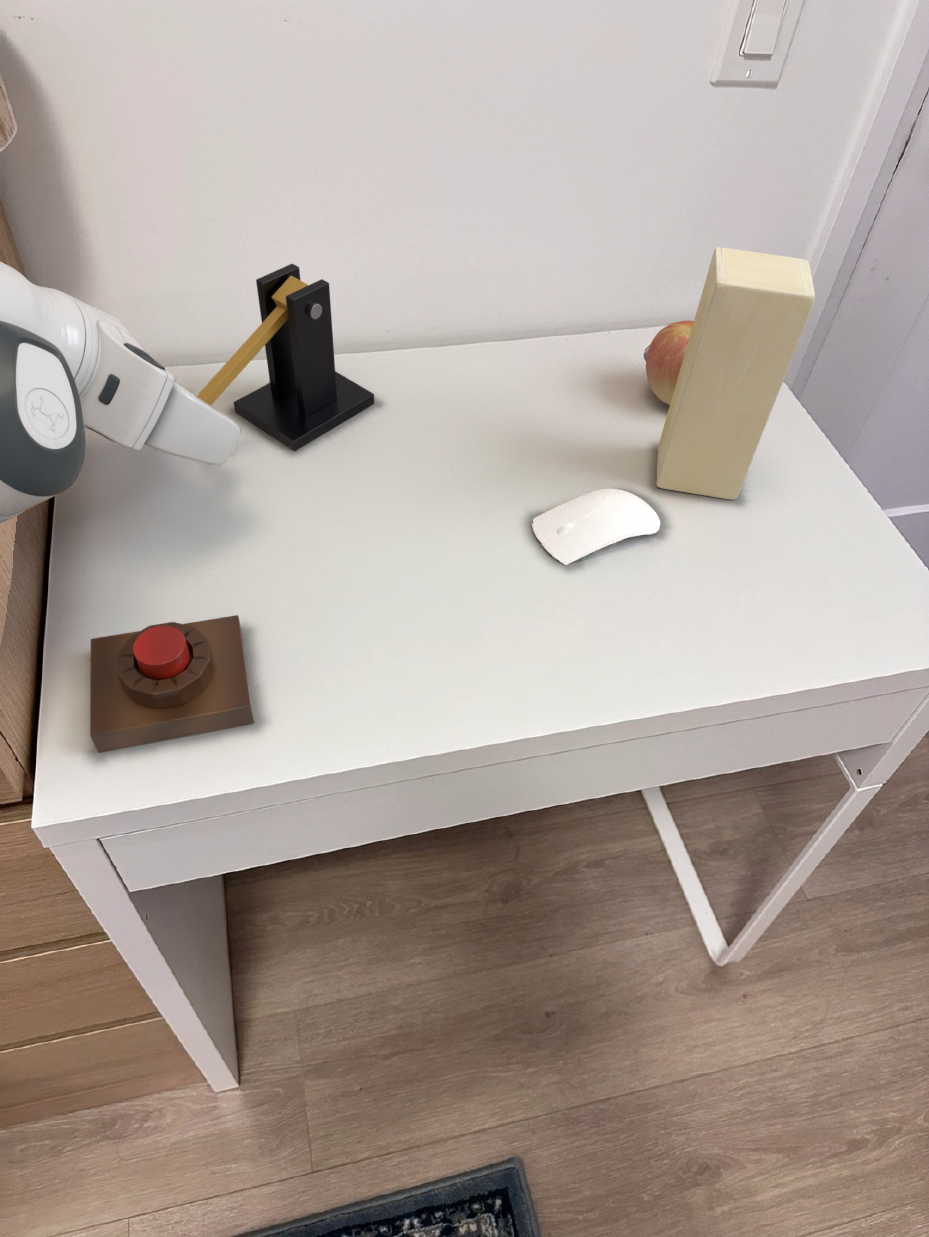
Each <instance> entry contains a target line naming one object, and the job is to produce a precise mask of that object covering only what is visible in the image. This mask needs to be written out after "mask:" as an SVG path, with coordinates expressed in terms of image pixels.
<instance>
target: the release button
mask: <svg viewBox="0 0 929 1237" xmlns="http://www.w3.org/2000/svg"><path fill="white" fill-rule="evenodd" d="M133 652H134V655H135V658H136V660H137V663H138V666H139V668H140V670H141V672H142V673H143V674H144V675H146V676H147V677H149V678H152V679H158V680H162V679H168V678H172V677H174V676H176V675H178V674H179V673H181V672H182V671H183V670H184V669H185V668H186V667H187V665H188V663H189V660H190V653H189V649H188V646H187V643H186V639H185V637H184V635H183V633H182V632H181V631H180V630H178V629H176V628H174V627H170V626H157V627H153V628H151V629H148V630H146V631H145V632H143V633H142V634H141V635H140V636H139V637H138V638H137V639H136V641H135V643H134V647H133Z"/></svg>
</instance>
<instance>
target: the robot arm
mask: <svg viewBox="0 0 929 1237" xmlns="http://www.w3.org/2000/svg"><path fill="white" fill-rule="evenodd" d="M85 428H86V429H88V430H90V431H92V432H94V433H96V434H98V435H100V436H102V437H103V438H106V440H108V441H111V442H112V443H115V444H117V445H119V446H121V447H123V448H126V449H129V450H132V451H140V450H141V449H142V448H143V446H146V447H149V448H152V449H154V450H156V451H158V452H159V451H160V452H162V453H165V454H168V455H171V456H175V457H180V458H183V459H187V460H191V461H194V462H199V463H204V464H208V465H213V466H220V465H223V464H225V463H226V462H227V461H228V460H229V459H230V457H231V455H232V453H233V452H234V450H235V448H236V446H237V445H238V442H239V439H240V438H241V434H242V427H241V425H240V424H239V423H238V422H236V420H234V419H232V418H231V417H229V416H228V415H226V414H225V413H223V412H222V411H220V410H218V409H216V408H215V407H213V406H212V405H211V406H210V405H209V404H207V403H206V402H204V401H203V400H201V399H200V398H198V397H197V395H195V394H193V393H192V392H190V391H189V390H187V389H186V388H185V387H183V386H181V385H180V384H179V383H177V382H176V377H175V375H174V374H173V373H172V372H170V371H169V370H167V369H166V367H164V366H163V365H162V364H161V363H159V362H158V361H157V360H155V359H154V358H153V357H152V356H151V355H150V354H149V353H148V352H146V351H145V350H144V349H143V347H142V346H141V345H140V343H138V341H136V339H135V338H134V337H133V336H132V335H130V332H129V331H128V328H126V326H125V325H124V323H122V322H121V320H119V319H118V318H116V317H115V316H113V315H111V314H109V313H107V312H105V311H103V310H101V309H99V308H96V307H95V306H92V305H90V304H88V303H86V302H83V300H80V299H79V298H76V297H74V296H72V295H70V294H68V293H66V292H64V291H62V290H60V289H56V288H53V287H52V288H51V287H46V286H39V285H36V284H34V283H33V282H31V281H30V280H29V279H28V278H26V277H25V276H24V275H23V274H22V272H20V271H18V270H17V269H15V268H14V267H12V266H10V265H9V264H6V263H5V262H3V261H0V524H2V523H4V522H6V521H8V520H11V519H14V518H16V517H18V516H19V515H21V514H22V513H24V512H25V511H26V510H29V509H32V508H33V507H35V506H37V505H39V504H42V503H43V502H44V503H45V501H48V500H50V499H52V498H54V497H55V496H57V495H59V494H62V493H64V492H65V491H67V490H68V489H69V488H71V487H72V486H73V485H74V484H75V483H76V481H77V479H78V477H79V476H80V474H81V472H82V469H83V466H84V461H85V456H86V430H85Z"/></svg>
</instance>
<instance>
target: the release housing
mask: <svg viewBox="0 0 929 1237" xmlns="http://www.w3.org/2000/svg"><path fill="white" fill-rule="evenodd" d="M239 616H240V615H238V614H237V615H236V614H235V615H229V616H223V617H218V618H217V617H216V618H210V619H205V620H204V619H203V620H198V621H192V622H187V623H180V622H176V621H170V622H163V623H158V624H150V625H147V626H146V627H144V628H143V629H141V630H138V631H131V632H125V633H119V634H113V635H105V636H101V637H94V638H90V686H89V687H90V695H89V698H90V699H89V700H90V703H89V704H90V705H89V707H90V709H89V713H90V714H89V715H90V716H89V729H90V730H89V737H90V738H91V741H92V743H93V745H94V747H95V749H96V751H97V752H98V753H105V752H109V751H115V750H120V749H126V748H131V747H135V746H141V745H146V744H153V743H158V742H164V741H168V740H175V739H179V738H185V737H190V736H196V735H200V734H206V733H211V732H216V731H222V730H226V729H232V728H237V727H242V726H248V725H253V724H255V717H254V716H255V715H254V708H253V702H252V694H251V686H250V680H249V672H248V666H247V659H246V652H245V650H246V649H245V643H244V636H243V629H242V626H241V620H240V617H239ZM157 626H170V627H174V628H176V629H178V630H180V631H181V632H182V633H183V635H184V637H185V639H186V643H187V646H188V649H189V653H190V660H189V663H188V665H187V667H186V668H185V669H184V670H183V671H182V672H181V673H179V674H178V675H176V676H174V677H172V678H168V679H162V680H158V679H152V678H149V677H147V676H146V675H144V674H143V673H142V672H141V670H140V668H139V666H138V663H137V660H136V658H135V655H134V652H133V647H134V643H135V641H136V639H137V638H138V637H139V636H140V635H141V634H142V633H143V632H145V631H146V630H148V629H151V628H153V627H157Z"/></svg>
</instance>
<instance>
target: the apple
mask: <svg viewBox="0 0 929 1237" xmlns="http://www.w3.org/2000/svg"><path fill="white" fill-rule="evenodd" d="M693 323H694V320H680V321H675V322H672V323H670V324H668V325H666V326H664V327H663V328H661V330H659V331H658V332H657V333H656V335H655V336H654V337H653V339H652V341H651V342H650V344H649V347H648V350H647V353H646V358H645V371H646V372H645V373H646V374H645V375H646V378H647V382H648V385H649V387H650V389H651V391H652V392H653V395H655V397H656V398H657V399H658V400H659V401H661V402H662V403H664V404H665V405H668V406H670V404H671V400H672V396H673V393H674V390H675V386H676V383H677V379H678V376H679V372H680V369H681V365H682V362H683V359H684V355H685V351H686V348H687V344H688V341H689V337H690V334H691V330H692V327H693Z"/></svg>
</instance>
